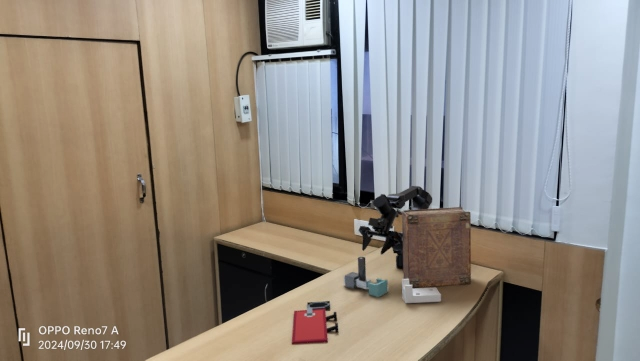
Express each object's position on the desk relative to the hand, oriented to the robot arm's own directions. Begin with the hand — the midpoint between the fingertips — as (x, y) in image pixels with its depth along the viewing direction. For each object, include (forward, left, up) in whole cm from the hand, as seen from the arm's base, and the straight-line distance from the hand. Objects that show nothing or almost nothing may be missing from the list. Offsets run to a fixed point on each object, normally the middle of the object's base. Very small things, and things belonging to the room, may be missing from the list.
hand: (371, 252), depth 193 cm
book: (-26, -2, -14) cm, 29 cm away
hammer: (+6, +4, -12) cm, 15 cm away
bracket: (-18, +16, -14) cm, 28 cm away
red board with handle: (+19, +35, -14) cm, 43 cm away
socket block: (-2, +10, -13) cm, 17 cm away
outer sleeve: (+8, +3, -13) cm, 16 cm away
